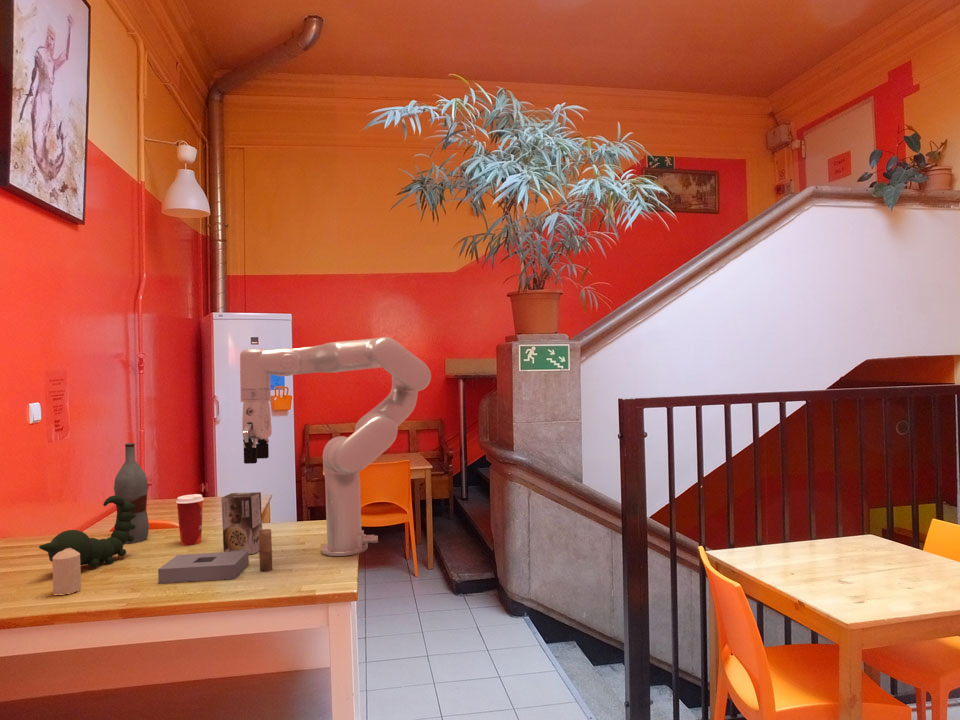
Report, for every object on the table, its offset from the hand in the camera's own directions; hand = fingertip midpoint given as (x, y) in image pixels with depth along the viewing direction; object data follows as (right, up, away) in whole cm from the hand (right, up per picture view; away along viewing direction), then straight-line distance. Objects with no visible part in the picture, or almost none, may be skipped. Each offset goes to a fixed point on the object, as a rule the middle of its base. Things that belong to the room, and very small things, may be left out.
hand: (256, 460), depth 168 cm
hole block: (-10, -27, -7) cm, 30 cm away
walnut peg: (+4, -27, -6) cm, 28 cm away
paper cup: (-28, -29, +24) cm, 46 cm away
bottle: (-49, -30, +29) cm, 64 cm away
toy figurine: (-45, -29, +2) cm, 54 cm away
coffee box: (-8, -28, +12) cm, 31 cm away
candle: (-39, -29, -17) cm, 51 cm away
